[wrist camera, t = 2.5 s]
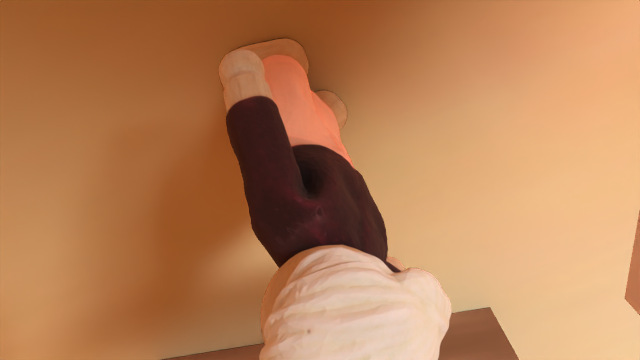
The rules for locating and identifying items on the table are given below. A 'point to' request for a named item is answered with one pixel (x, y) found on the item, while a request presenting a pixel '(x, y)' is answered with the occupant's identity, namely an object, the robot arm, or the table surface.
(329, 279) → the grandmother figurine
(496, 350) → the sage green square panel
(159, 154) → the table surface
